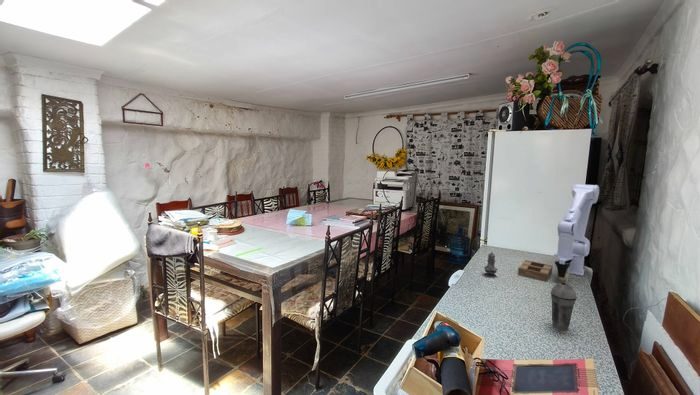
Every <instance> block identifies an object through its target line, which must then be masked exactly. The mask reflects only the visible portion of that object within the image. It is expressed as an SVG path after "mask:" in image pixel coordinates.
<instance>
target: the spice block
mask: <svg viewBox="0 0 700 395" xmlns="http://www.w3.org/2000/svg"><path fill="white" fill-rule="evenodd" d="M553 268H554V266H553V265H552V264H547V263H541V262H536V261H532V260H528V259H525V260H524V261H523V263H521V264H520V266H519V267H518V269H517V270H518V271H517V276H522V277H525V278H529V279H535V280H539V281H543V282H547V281H548V280H549V279H550V277H551V275H552V273H553Z"/></svg>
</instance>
